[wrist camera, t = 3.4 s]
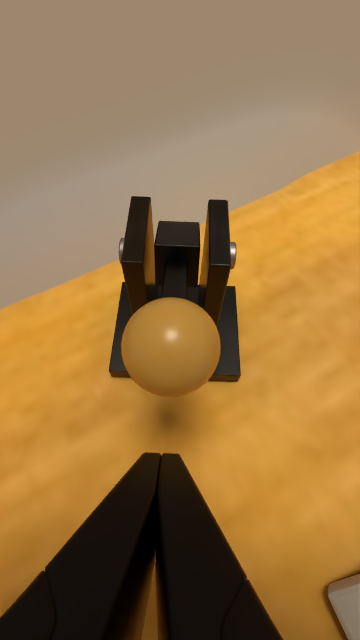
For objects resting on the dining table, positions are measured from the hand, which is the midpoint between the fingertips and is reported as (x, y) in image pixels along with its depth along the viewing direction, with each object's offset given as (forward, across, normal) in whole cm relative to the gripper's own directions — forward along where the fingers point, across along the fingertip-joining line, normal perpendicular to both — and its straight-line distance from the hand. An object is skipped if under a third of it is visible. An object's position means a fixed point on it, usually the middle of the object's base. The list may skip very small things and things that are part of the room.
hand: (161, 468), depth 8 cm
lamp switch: (+9, 0, -1) cm, 9 cm away
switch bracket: (+18, 0, +2) cm, 18 cm away
